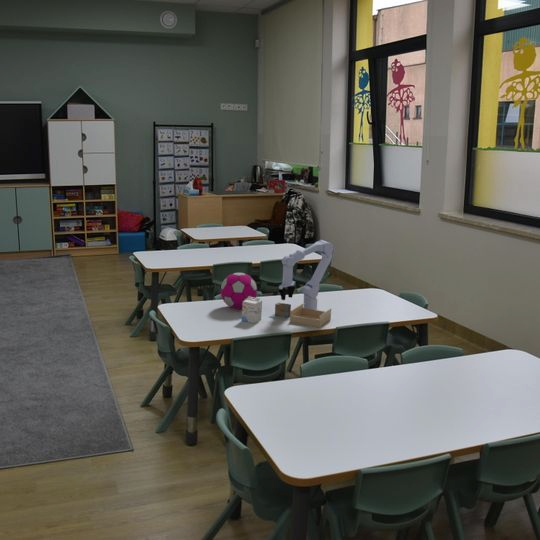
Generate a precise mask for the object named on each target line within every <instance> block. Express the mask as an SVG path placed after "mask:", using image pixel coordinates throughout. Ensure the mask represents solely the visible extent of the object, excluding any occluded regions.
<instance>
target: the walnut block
mask: <svg viewBox="0 0 540 540" xmlns="http://www.w3.org/2000/svg"><path fill="white" fill-rule="evenodd" d="M291 306H292V304H290V303H284V302H276V303H275V305H274V314H275V316H279V317H285V318H288V317H290V311H291V310H292V309H291V308H292V307H291Z"/></svg>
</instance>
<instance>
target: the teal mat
mask: <svg viewBox="0 0 540 540" xmlns="http://www.w3.org/2000/svg"><path fill="white" fill-rule="evenodd" d="M269 318H272V319H275V318H276V319H281V320H286V321H287V320H290V317H288V318H285V317H279V316H275V313H273V314H272V315H270V316H269Z"/></svg>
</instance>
